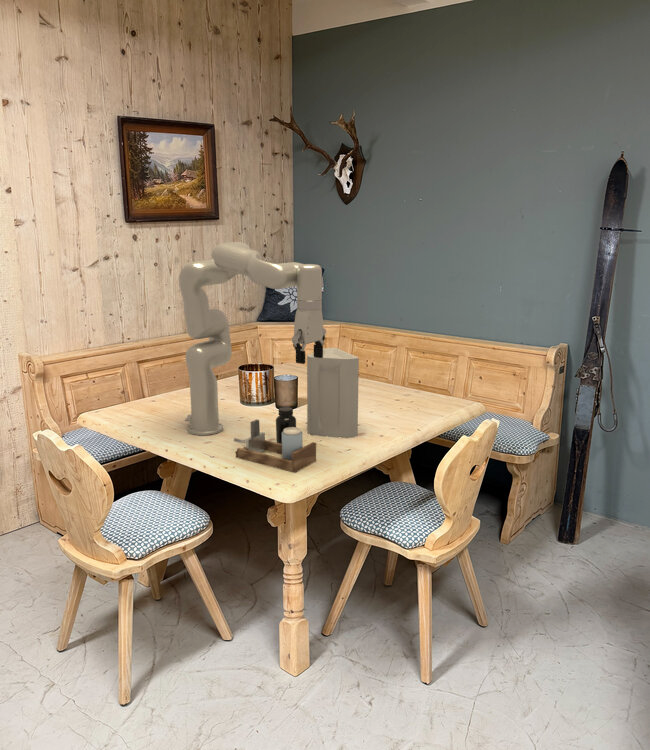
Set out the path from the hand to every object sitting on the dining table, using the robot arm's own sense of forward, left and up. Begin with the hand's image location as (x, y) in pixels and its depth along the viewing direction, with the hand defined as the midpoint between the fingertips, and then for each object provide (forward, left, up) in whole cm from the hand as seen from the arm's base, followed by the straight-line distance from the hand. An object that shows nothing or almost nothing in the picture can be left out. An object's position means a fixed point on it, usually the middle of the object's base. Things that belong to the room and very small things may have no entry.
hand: (309, 360), depth 206 cm
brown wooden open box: (-7, -9, -31) cm, 33 cm away
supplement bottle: (-13, +5, -31) cm, 34 cm away
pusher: (-19, -9, -31) cm, 37 cm away
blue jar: (0, -9, -31) cm, 32 cm away
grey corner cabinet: (-8, +23, -31) cm, 40 cm away
